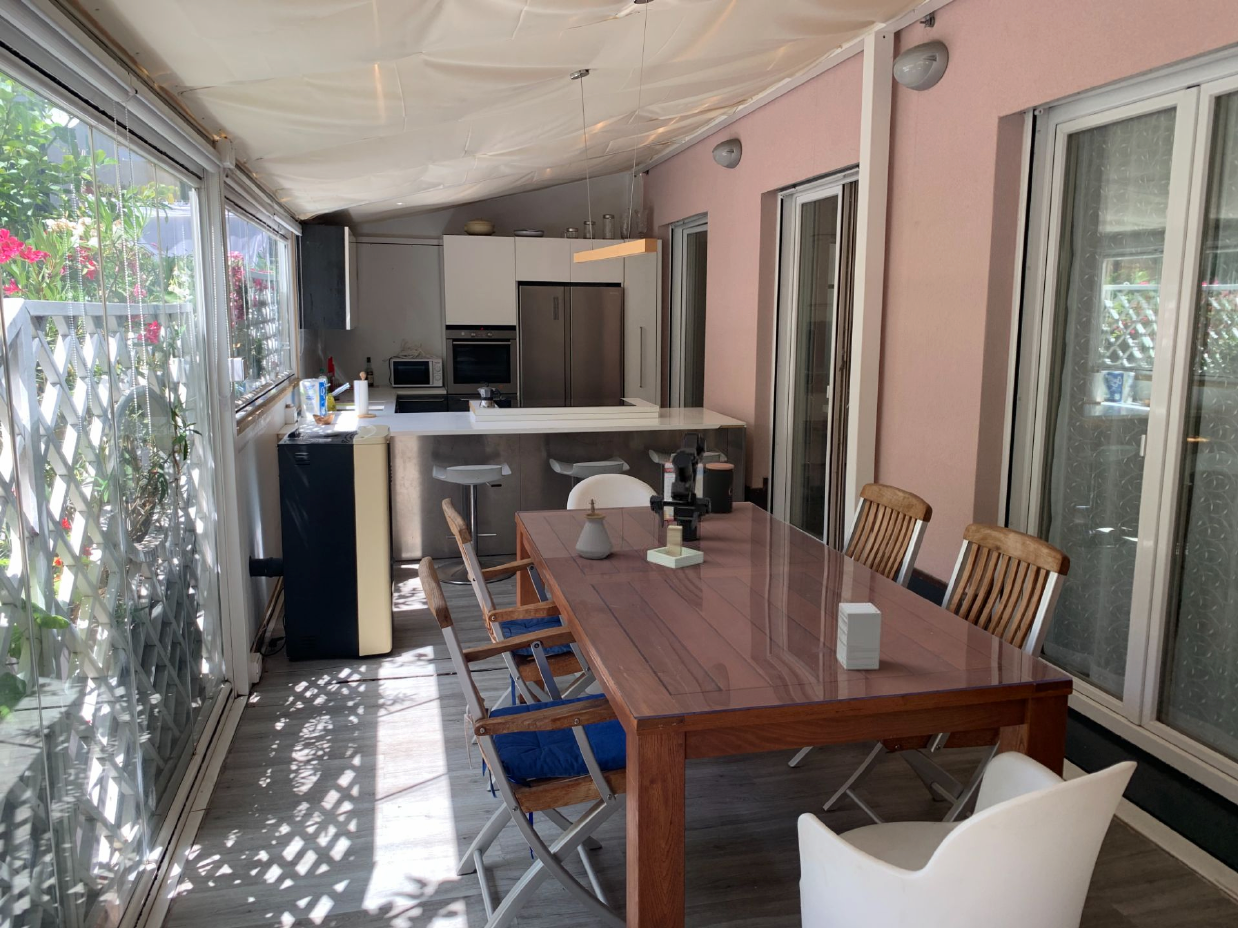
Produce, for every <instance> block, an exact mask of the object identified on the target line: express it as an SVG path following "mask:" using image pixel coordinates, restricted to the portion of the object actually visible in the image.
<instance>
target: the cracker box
mask: <svg viewBox="0 0 1238 928" xmlns="http://www.w3.org/2000/svg"><path fill="white" fill-rule="evenodd" d="M674 480H675V474H674V468H673V465H672V462H665V463H664V483H663V485H664V489H663V491H664V492H663V498H664V500H672V498H671V485H672V482H674ZM703 491H704V463H701V462H700V463H699V464H698V469H697V478H696V487H695V493H696V495H697V498H698V497H699V498H704V495H703V493H704V492H703ZM664 520H668V521H669V522H675V521H674V515H673V507H667V506H664ZM702 521H703V517H702V518H701V522H702Z"/></svg>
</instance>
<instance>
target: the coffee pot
mask: <svg viewBox="0 0 1238 928" xmlns="http://www.w3.org/2000/svg"><path fill="white" fill-rule="evenodd" d="M596 503H597V501H596V500H595V499H590V500H589V502H588V504H589V505H590V511H591V513H586V514H584V515H583V517H584V518H585V525H583V526H584V527H583V529H582V530H581V531H582V532H581V533H580V536H579V539H578V540H577V543H576V545H575V549H576V551H577V553H578V554H579V555H581V557H582V558H585V559H589V560H596V559H597V560H598V559H605V558H606V557H607V556H608V555H609V554H611V552H612V550H613V549H614V548H613V547H614V546H613V543H612V541H611V538H610V535H609V533H608V532H607V528H606V526H605V523H604V520H605V518H606V517H607V514H604V513H597V512H596V511H595V505H596Z"/></svg>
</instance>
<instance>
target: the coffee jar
mask: <svg viewBox="0 0 1238 928" xmlns="http://www.w3.org/2000/svg"><path fill="white" fill-rule="evenodd" d="M705 467H706V471H705V484H704V486H705V488H704V489H705V490H704V498H709V499H710V504H711V511H710V514H718V515H724V514H730V513H732V510H733V507H734V506H733V505H734V503H733V502H734V475H735V473H734V467H735V465H734V464H731V463H725V462H709V463H706V464H705Z"/></svg>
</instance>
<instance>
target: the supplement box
mask: <svg viewBox="0 0 1238 928" xmlns="http://www.w3.org/2000/svg"><path fill="white" fill-rule="evenodd" d="M837 622H838V623H837V626H838V627H837V643H836V658H837V660H838V661H839V663H840V664H841V666H843V668H844V670H846V671H847V670H879V667H880V650H881V648H880V647H881V629H882V612H881V611H880V610H879V609H878V608H877V607H876V606H875V605H874V604H873V603H871V602H839V604H838V621H837Z"/></svg>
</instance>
